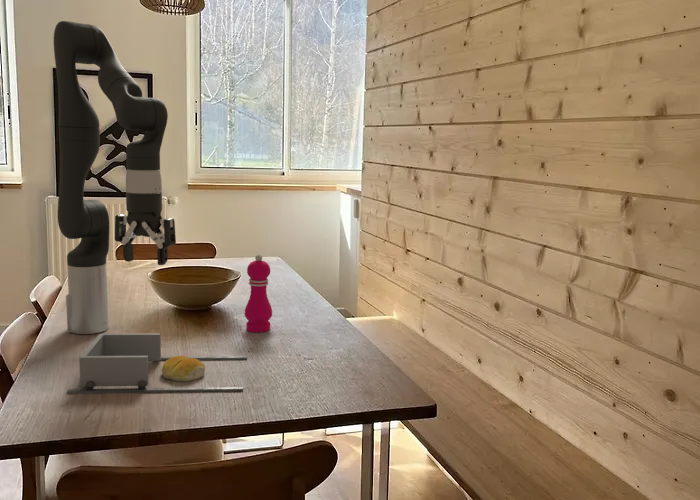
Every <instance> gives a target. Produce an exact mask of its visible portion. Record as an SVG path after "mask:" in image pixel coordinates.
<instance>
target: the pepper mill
mask: <svg viewBox="0 0 700 500" xmlns="http://www.w3.org/2000/svg"><path fill="white" fill-rule="evenodd" d="M254 258H255V260H253V261H251V262H250V263H249V264H248V266H247V269H246V273H247V275H248V277H249V279H248V284H249V286H250V295H249V299H248V301H247V303H246V305H245V309H244V317H245V319H246V320H248V321H246V325H245V326H246V327H245V328H246V330H247V331H248V332H250V333H265V332H269V331H270V330H271V321H270V319H271V318H272V316H273V309H272V305H271V303H270V301H269V298H268V294H267V286H268V285H269V279H268V277H269V276H270V275H271V267H270V265H269V263H268V262H266V261H264V260H263V256H262V255H261V254H256V255H255V257H254Z"/></svg>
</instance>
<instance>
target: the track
mask: <svg viewBox="0 0 700 500" xmlns="http://www.w3.org/2000/svg"><path fill="white" fill-rule="evenodd" d="M172 357H173V356H161V360H160V361H167V360H168V359H170V358H172ZM186 357H188V358H195V359H198V360H199V361H219V360H220V361H223V360H224V361H225V360H226V361H231V360H233V361H235V360H238V361H239V360H240V361H241V360H243V361H244V360H245V361H246V360H248V356H247V355H238V356H237V355H226V356H224V355H222V356H220V355H219V356H218V355H217V356H215V355H213V356H211V355H210V356H205V355H204V356H203V355H202V356H201V355H199V356H197V355H196V356H193V355H191V356H190V355H189V356H186ZM199 392H200V393H201V392H204V393H206V392H207V393H209V392H211V393H212V392H214V393H215V392H218V393H219V392H221V393H222V392H244V386H224V387H223V386H221V387H220V386H216V387H211V386H210V387H148V388H147V387H145V388H138V387H134V388H133V387H132V388H131V387H130V388H127V387H126V388H125V387H124V388H122V387H121V388H93V389H86V388H68V389H67V390H66V394H67V393H68V394H126V393H127V394H128V393H130V394H131V393H132V394H136V393H137V394H138V393H142V394H143V393H199Z"/></svg>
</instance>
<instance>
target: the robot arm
mask: <svg viewBox="0 0 700 500" xmlns="http://www.w3.org/2000/svg"><path fill="white" fill-rule="evenodd" d="M53 32H54V33H53V52H54V54H53V55H54V63H55V70H56V71H55V72H56V79H57V93H58V96H57V98H58V142H59V145H58V146H59V187H58V198H57V224H58V228H59V230H60V233H61V234H62V235H63V237H65V238H67V239H69V240H76V239H77V240H78V239H81V240H80V242H79V243H78V245H77V246H76V247H74V248H72V250H70V251H69V252H68V253H67V256H66V266H67V269H66V270H67V287H68V288H67V289H68V294H66V295H65V306H66V325H67V326H66V330H67V333H73V334H77V335H93V334H100V333H103V332H105V331H107V330H108V329H109V305H108V304H109V303H108V300H109V299H108V275H107V273H108V272H107V256H108V254H109V251H110V215H109V211H108V208H107V207H106V205H105V204H104V203H103V202H102V201H101V200H98V199H85V200H84V191H85V183H86V180H87V176H88V174H89V171H90V170H91V168H92V166H93V164H94V162H95V160H96V158H97V157H98V154H99V151H100V147H101V146H100V145H101V139H100V136H101V135H100V134H101V133H100V131H101V129H100V119H99V117H98V114H97V113H96V110H95V109H94V107H93V105H92V104H91V103H90V101H89V98H87V96H86V94H85V93H84V91H83V90H82V87H81V84H80V82H79V79H78V73H77V69H76V68H77V67H76V66H77V65H76V64H84V65H95V66H97V67H98V68H99V70H98V75H97V81H98V82H97V83H98V86H99V87H100V90H101V91H102V92H103V94H104V95H105V96H106V98H107V99H108V100H109V101H110V102H111V104H112V106H113V111H114V114H115V117H116V120H117V122H118V124H119V125H120V126H121V127H122V128H124V129H126V130H128V131H144V134H143V136H142V138H141V139H140V140H136V141H132V142H129V143H127V145H126V147H125V157H126V158H125V161H126V166H125V167H126V173H125V174H126V175H125V202H126V203H125V205H126V211H127V214H125V213H123V214H118V215H115V217H114V241H115V242H119V243H121V245H122V250H123V251H122V254H123V255H122V257H123V259H124V261H125V262H128V263H129V262H133V261H134V259H135V258H134V243H133V242H134V241H135V239H136V238H137V237H141V236H142V237H146V238H150V239H151V240H152V241H153V242H154V243H155V244H156V246H157V253H156V254H157V265H158V266H163V265H166V264H167V262H168V261H169V259H168V255H169V254H168V252H169V251H168V248H169V247H172V246H175V245H176V244H177V240H176V227H175V226H176V223H175V219H174V218H173V217H171V218H163V217H162V210H163V193H162V190H163V189H162V175H161V156H160V155H161V148H162V145H163V139H164V135H165V132H166V128H167V124H168V118H169V117H168V116H169V115H168V109H167V107H166V104H165V103H164V102H163V100H162V99H159V98H157V97H145V96H144V97H143V90H142V88H141V86H140V85H139V84H138V83H137V81H135V80H134V78H133V77H132V76H131V75H130V73H128V71H127V70H126V69H125V68H124V67H123V65H122V63H121V61H120V59H119V57H118V55H117V53H116V51H115V50H114V48H113V46H112V44H111V41H109V38H108V37H107V35H106V33H105V32H104V30H102V29H101V28H100V27H98V26H97V25H93V24H88V23H80V22H74V21H66V20H61V21H59V22H58V23H56V25H55V28H54V31H53ZM127 225H128V226H129V227H128V228H127ZM162 229H163V230H162Z"/></svg>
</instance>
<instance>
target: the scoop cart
mask: <svg viewBox="0 0 700 500" xmlns="http://www.w3.org/2000/svg"><path fill="white" fill-rule="evenodd" d="M161 335H162V334H161V333H159V332H157V333H156V332H153V333H149V332H148V333H145V332H144V333H143V332H141V333H138V332H137V333H132V332H131V333H98V335H97V337H95V339H94V340H93V341H92V343H90V345H89V346H88V347H87V348H86V349H85V350H84V352H83V353H82V354H81V355H80V356H79V357H78V359H79V379H80V380H79V381H80V382H79V385H80V387H84V388H85V389H95V387H137V388H147V387H148V386H149V384H150V383H149V381H150V380H149V379H150V378H149V362H150V361H152V362H160V361H162V360H161V357H162V343H161V341H162V338H161Z"/></svg>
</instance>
